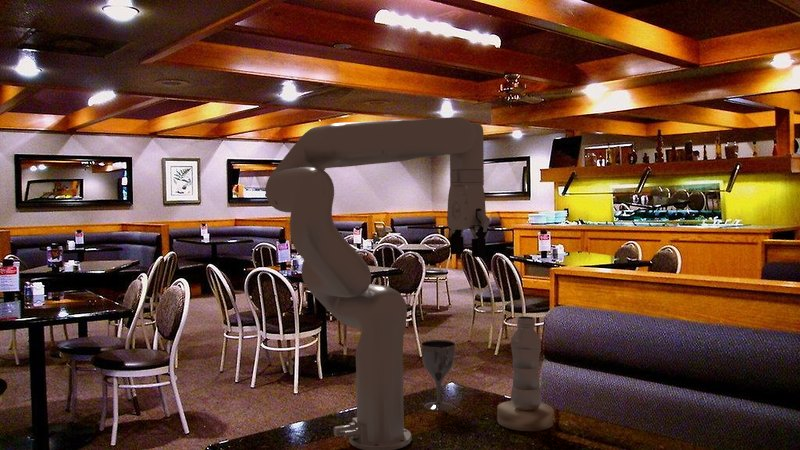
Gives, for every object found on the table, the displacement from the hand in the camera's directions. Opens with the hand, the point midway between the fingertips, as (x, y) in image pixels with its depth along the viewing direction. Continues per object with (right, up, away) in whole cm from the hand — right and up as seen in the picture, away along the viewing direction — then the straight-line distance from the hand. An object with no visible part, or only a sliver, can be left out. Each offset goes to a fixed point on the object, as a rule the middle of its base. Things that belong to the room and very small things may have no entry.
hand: (467, 255), depth 150 cm
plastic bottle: (+12, -34, -4) cm, 36 cm away
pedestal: (+12, -36, -3) cm, 38 cm away
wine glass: (-6, -36, +8) cm, 38 cm away
